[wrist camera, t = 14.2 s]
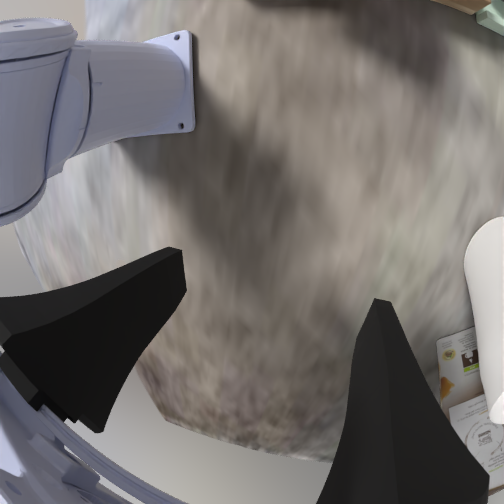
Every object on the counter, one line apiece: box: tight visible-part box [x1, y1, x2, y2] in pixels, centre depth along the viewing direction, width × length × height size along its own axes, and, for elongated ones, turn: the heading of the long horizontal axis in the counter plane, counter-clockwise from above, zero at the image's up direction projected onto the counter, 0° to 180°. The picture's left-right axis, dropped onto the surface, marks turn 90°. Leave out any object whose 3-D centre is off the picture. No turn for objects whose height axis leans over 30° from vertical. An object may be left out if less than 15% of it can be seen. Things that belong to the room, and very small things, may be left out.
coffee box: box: [436, 327, 504, 496], centre depth 14 cm, size 9×6×16 cm
